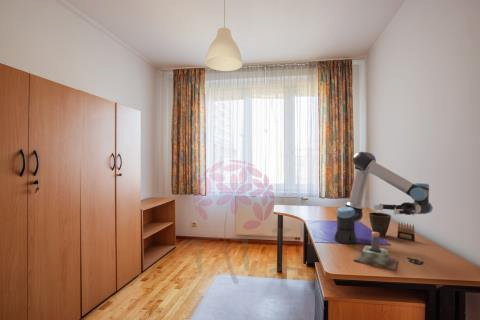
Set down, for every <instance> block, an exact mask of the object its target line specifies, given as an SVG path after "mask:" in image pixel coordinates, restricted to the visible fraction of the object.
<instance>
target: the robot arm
mask: <svg viewBox="0 0 480 320" xmlns="http://www.w3.org/2000/svg"><path fill="white" fill-rule="evenodd" d="M376 161H377V159H376V157H375V156H374V154H372V153H371V152H368V151H358V152H356V153H355V154H354V155H353V156H352V163H353V166H354V170H355V175H354V179H353V183H352V187H351V191H350V196H349V200H348V202H346V204H345V206H341V207H338V208H337V211H336V229H335V230H336V231H335V234H334V237H333V240H334V241H335V242H337V243H341V244H343V245H344V244H345V245H355V244H357V243H358V237H357V234H356V231H355V224H356V223H359V222H360V221H361V220H362V219H363V216H364V214H363V208H364V207H363V206H362V204H363V199H364V196H365V195H364V194H365V191H366V186H367V182H368V178H369V175H370V174H371V175H374V176H376V177H377V178H378V179H380V180H382V181H384V182H386V183H387V184H388V185H391V186H393V187H394V188H396V189H398V190H399V191H401V192H402V193H404V194H406V196H409V197H410V198H411V199H412V200H413V201H412V202H411V201H409V202H403V203H401V204H385V203H383V204H382V203H379V204H378V205H377V204H375V205H374V206H373V210H374V211H375V210H376V211H377V210H381V211H383V210H391V211H392V210H393V215H395V216H396V215H405V216H415V215H426V214H431V212H432V211H433V205H432V203H430V201H429V199H430V198H429V197H430V184H428V183H423V182H422V183H421V182H420V183H419V182H416V183H413V182H411V181H409V180H408V179H406V178H405V177H403V176H400V175H399V174H397V173H395V172H393V171H392V170H390V169H388V168H386V167H384V166H383V165H381V164H379V163H378V162H376Z"/></svg>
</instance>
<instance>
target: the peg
mask: <svg viewBox="0 0 480 320" xmlns="http://www.w3.org/2000/svg"><path fill="white" fill-rule="evenodd" d="M370 237H371V242H370V244H371V245H370V246H371V251H373V252H378V253H379V248H380V238H381V236H380V233H378V232H373V231H371V236H370Z"/></svg>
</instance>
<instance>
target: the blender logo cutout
mask: <svg viewBox="0 0 480 320" xmlns="http://www.w3.org/2000/svg"><path fill="white" fill-rule="evenodd" d="M406 258H407V259H408V262H409V263H411V264H413V265H417V266H418V265H422V266H423V264H424V261H423V260H422V261H420V260H419V259H417V258H415V259H414V258H410V257H406Z"/></svg>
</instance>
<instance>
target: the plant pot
mask: <svg viewBox="0 0 480 320" xmlns="http://www.w3.org/2000/svg"><path fill="white" fill-rule="evenodd" d="M368 216H369V221H370V226H371V229H372V232H378V233H380V237H385V236H386V235H387V233H388V230H389V227H390V223H391V218H392V215H391V214H388V213H384V212H383V213H382V212H369V213H368Z"/></svg>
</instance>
